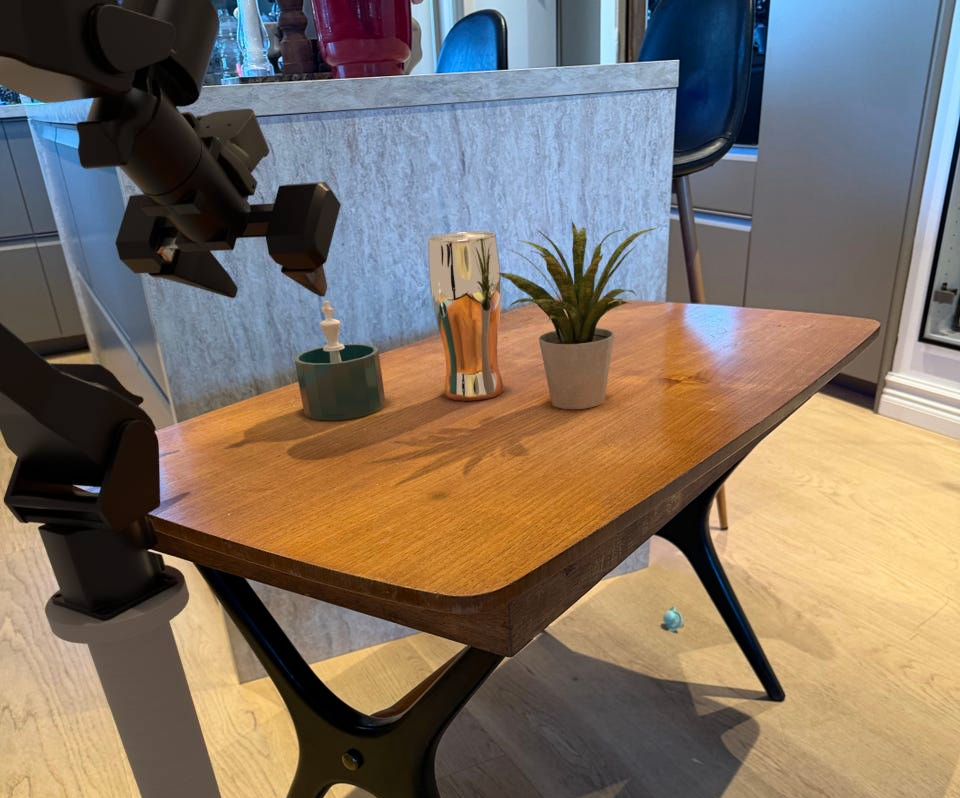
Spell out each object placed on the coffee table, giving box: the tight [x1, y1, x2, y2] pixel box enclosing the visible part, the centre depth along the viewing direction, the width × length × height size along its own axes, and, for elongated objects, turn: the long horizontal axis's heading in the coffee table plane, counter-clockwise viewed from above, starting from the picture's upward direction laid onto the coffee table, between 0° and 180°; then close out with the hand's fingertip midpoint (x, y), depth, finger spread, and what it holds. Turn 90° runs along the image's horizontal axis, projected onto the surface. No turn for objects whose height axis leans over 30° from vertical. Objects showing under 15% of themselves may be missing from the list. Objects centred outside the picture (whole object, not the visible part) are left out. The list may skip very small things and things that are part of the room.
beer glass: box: [427, 230, 504, 402], centre depth 89 cm, size 7×7×15 cm
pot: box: [293, 343, 386, 422], centre depth 90 cm, size 8×8×6 cm
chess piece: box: [319, 300, 345, 363], centre depth 88 cm, size 5×5×10 cm
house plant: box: [498, 221, 658, 410], centre depth 84 cm, size 14×14×16 cm
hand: (278, 292), depth 79 cm, fingers open, 9 cm apart
